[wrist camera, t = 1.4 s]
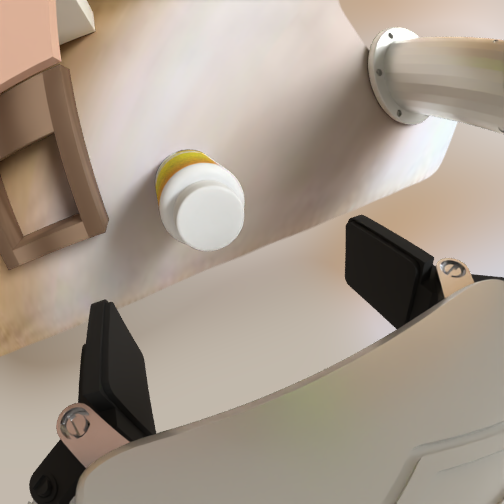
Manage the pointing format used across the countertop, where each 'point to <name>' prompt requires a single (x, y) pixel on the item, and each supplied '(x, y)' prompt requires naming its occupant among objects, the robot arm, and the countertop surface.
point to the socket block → (72, 155)
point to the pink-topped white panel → (38, 34)
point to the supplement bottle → (199, 200)
